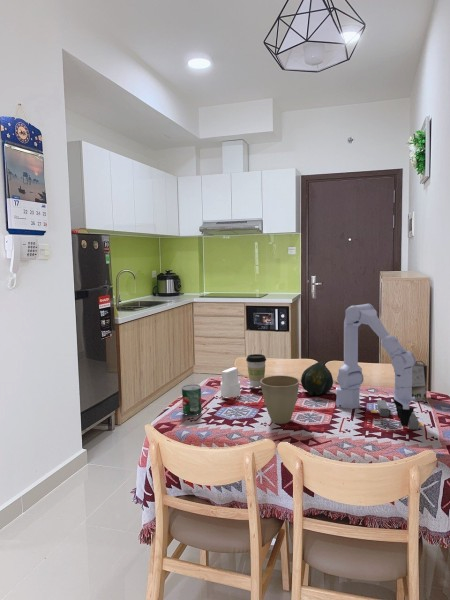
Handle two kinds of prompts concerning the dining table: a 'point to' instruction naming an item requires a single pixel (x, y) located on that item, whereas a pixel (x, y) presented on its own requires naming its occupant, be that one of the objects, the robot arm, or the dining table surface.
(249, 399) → the dining table surface
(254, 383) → the coffee cup
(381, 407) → the slider back
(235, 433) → the dining table surface
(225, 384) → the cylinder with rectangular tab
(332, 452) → the dining table surface
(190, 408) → the canned tomato
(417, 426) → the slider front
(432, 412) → the dining table surface
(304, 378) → the squash
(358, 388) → the robot arm
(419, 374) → the coffee box
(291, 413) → the plant pot
